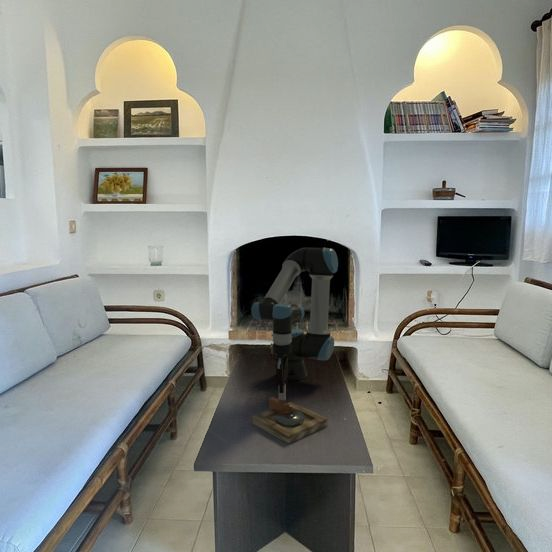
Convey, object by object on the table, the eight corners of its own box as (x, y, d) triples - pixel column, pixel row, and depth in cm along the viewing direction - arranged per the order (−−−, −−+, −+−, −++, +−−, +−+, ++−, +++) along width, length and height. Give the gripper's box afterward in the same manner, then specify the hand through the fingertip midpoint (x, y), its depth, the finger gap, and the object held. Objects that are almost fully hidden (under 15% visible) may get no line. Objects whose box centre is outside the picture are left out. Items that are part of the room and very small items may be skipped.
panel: (291, 408, 171) (291, 401, 171) (327, 425, 156) (327, 418, 156) (252, 423, 158) (252, 415, 158) (288, 443, 143) (288, 435, 143)
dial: (310, 420, 156) (310, 406, 156) (289, 429, 149) (289, 415, 148) (281, 406, 169) (281, 393, 168) (260, 414, 161) (260, 401, 161)
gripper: (276, 338, 173) (276, 392, 176) (268, 346, 160) (269, 405, 163) (294, 339, 171) (294, 394, 174) (287, 348, 159) (287, 407, 161)
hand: (282, 399), depth 169 cm, fingers closed
